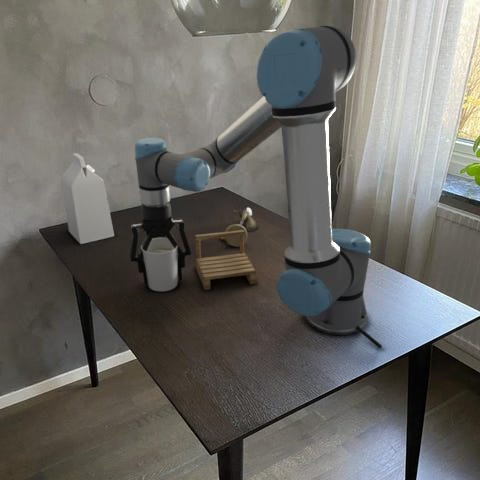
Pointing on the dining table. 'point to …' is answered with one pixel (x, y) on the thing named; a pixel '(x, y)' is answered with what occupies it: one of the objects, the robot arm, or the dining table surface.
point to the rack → (223, 261)
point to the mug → (236, 239)
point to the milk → (86, 203)
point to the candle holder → (161, 264)
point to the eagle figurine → (247, 219)
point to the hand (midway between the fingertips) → (163, 279)
